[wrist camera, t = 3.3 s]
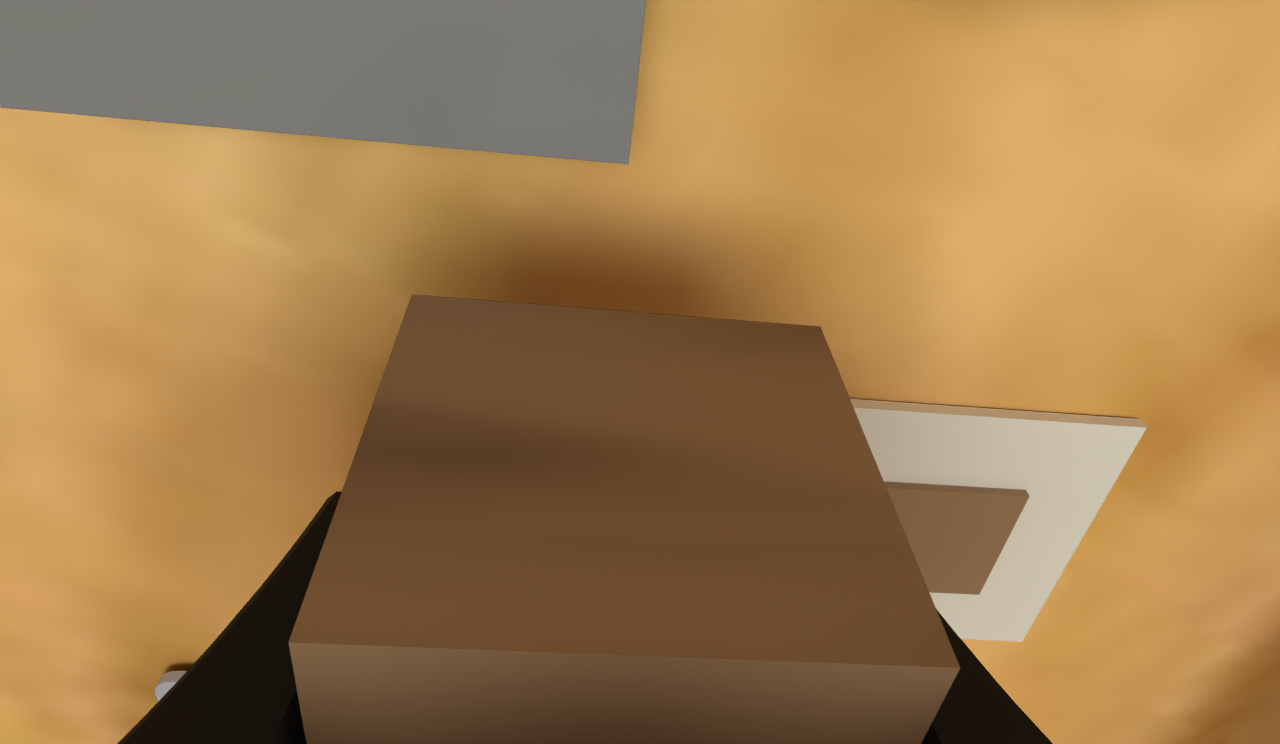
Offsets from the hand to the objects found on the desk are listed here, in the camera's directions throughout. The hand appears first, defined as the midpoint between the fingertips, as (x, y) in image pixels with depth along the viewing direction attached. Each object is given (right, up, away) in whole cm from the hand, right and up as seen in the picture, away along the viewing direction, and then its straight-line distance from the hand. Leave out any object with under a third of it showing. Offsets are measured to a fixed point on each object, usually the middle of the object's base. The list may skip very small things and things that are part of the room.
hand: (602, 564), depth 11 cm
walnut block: (0, +1, +1) cm, 2 cm away
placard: (+7, -1, +9) cm, 12 cm away
